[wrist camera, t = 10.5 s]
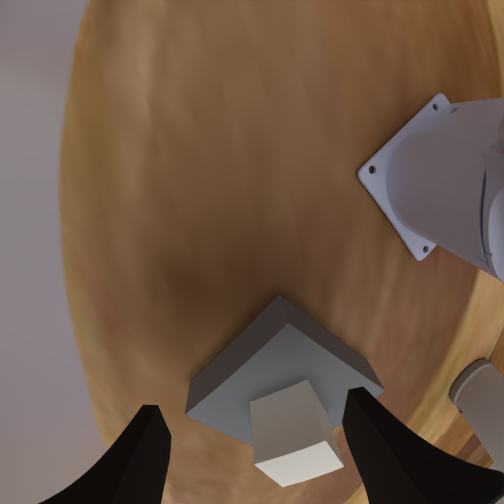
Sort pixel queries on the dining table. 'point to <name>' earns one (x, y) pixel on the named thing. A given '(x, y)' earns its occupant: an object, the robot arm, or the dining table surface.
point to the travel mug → (483, 406)
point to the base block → (276, 370)
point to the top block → (293, 436)
